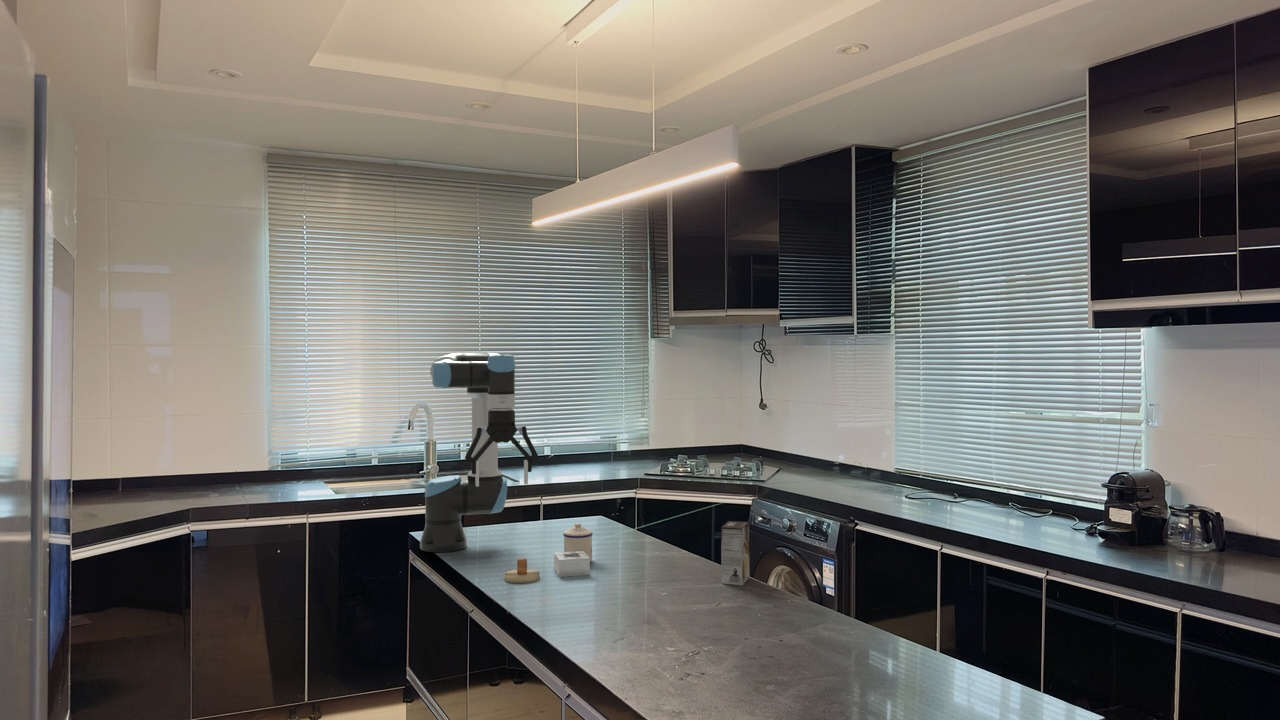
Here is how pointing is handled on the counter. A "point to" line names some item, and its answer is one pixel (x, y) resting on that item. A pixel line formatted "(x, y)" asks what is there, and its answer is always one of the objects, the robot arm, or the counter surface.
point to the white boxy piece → (571, 563)
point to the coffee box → (735, 552)
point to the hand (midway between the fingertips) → (501, 484)
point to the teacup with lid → (578, 540)
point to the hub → (522, 573)
